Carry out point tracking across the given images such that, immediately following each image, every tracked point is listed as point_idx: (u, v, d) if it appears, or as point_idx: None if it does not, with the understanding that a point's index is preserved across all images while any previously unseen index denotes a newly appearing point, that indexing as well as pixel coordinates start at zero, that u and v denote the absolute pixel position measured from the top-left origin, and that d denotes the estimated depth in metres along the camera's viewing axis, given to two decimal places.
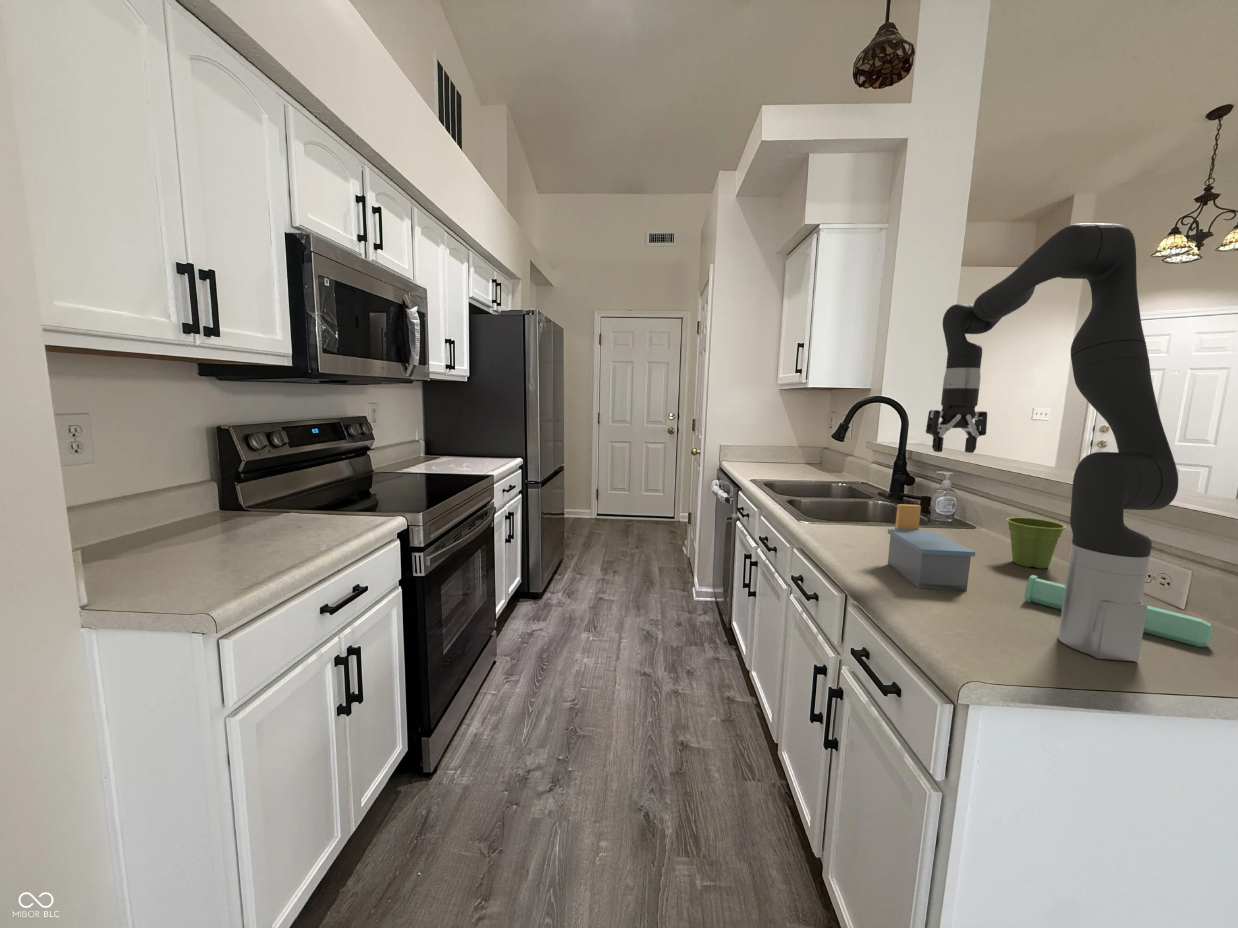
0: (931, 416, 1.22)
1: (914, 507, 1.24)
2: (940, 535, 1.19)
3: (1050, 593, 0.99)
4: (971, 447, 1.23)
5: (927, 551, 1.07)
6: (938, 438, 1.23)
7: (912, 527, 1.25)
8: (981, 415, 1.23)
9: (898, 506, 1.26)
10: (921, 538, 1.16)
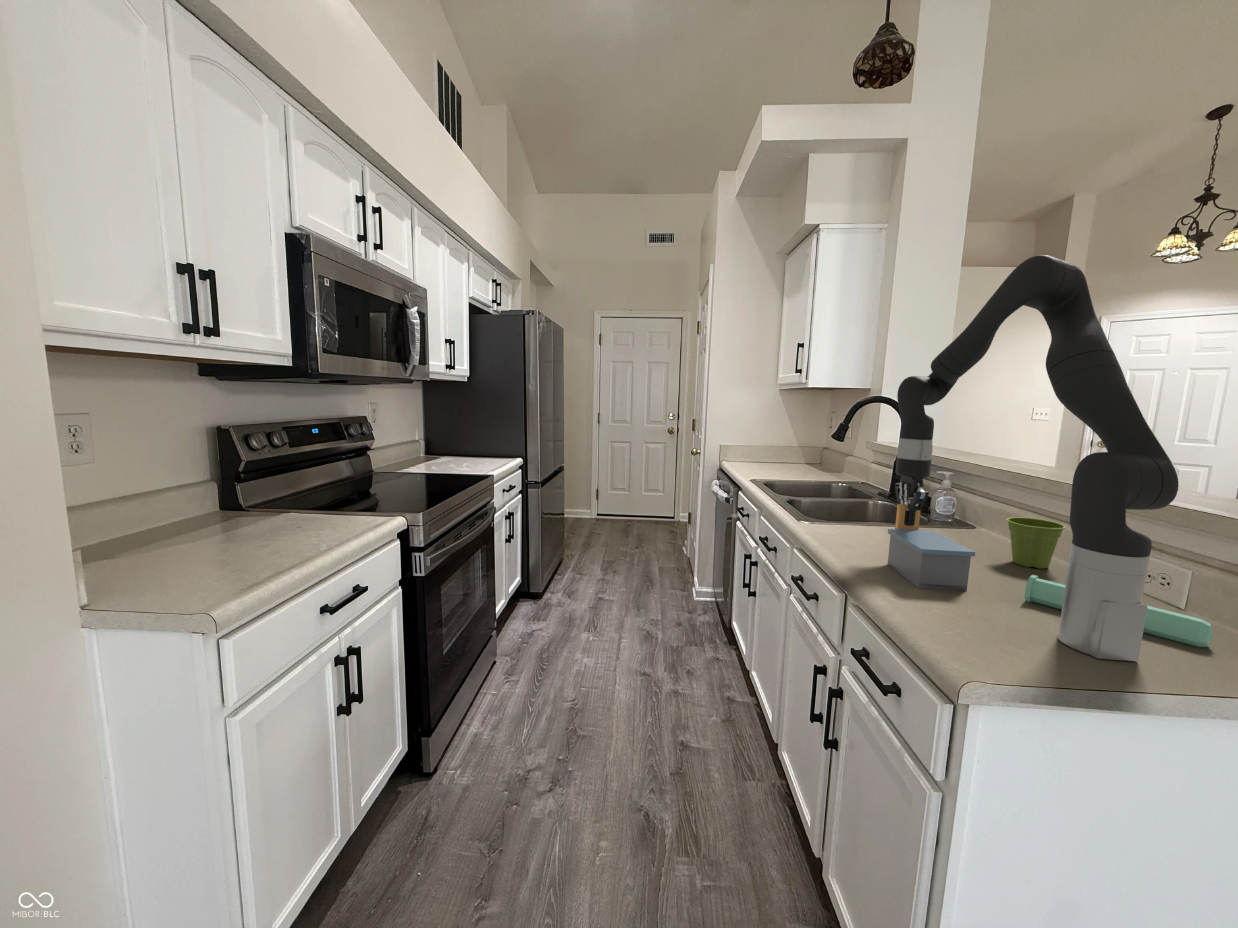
0: (921, 498, 1.19)
1: None
2: (940, 535, 1.19)
3: (1050, 593, 0.99)
4: None
5: (927, 551, 1.07)
6: None
7: (912, 527, 1.25)
8: None
9: (898, 506, 1.26)
10: (921, 538, 1.16)
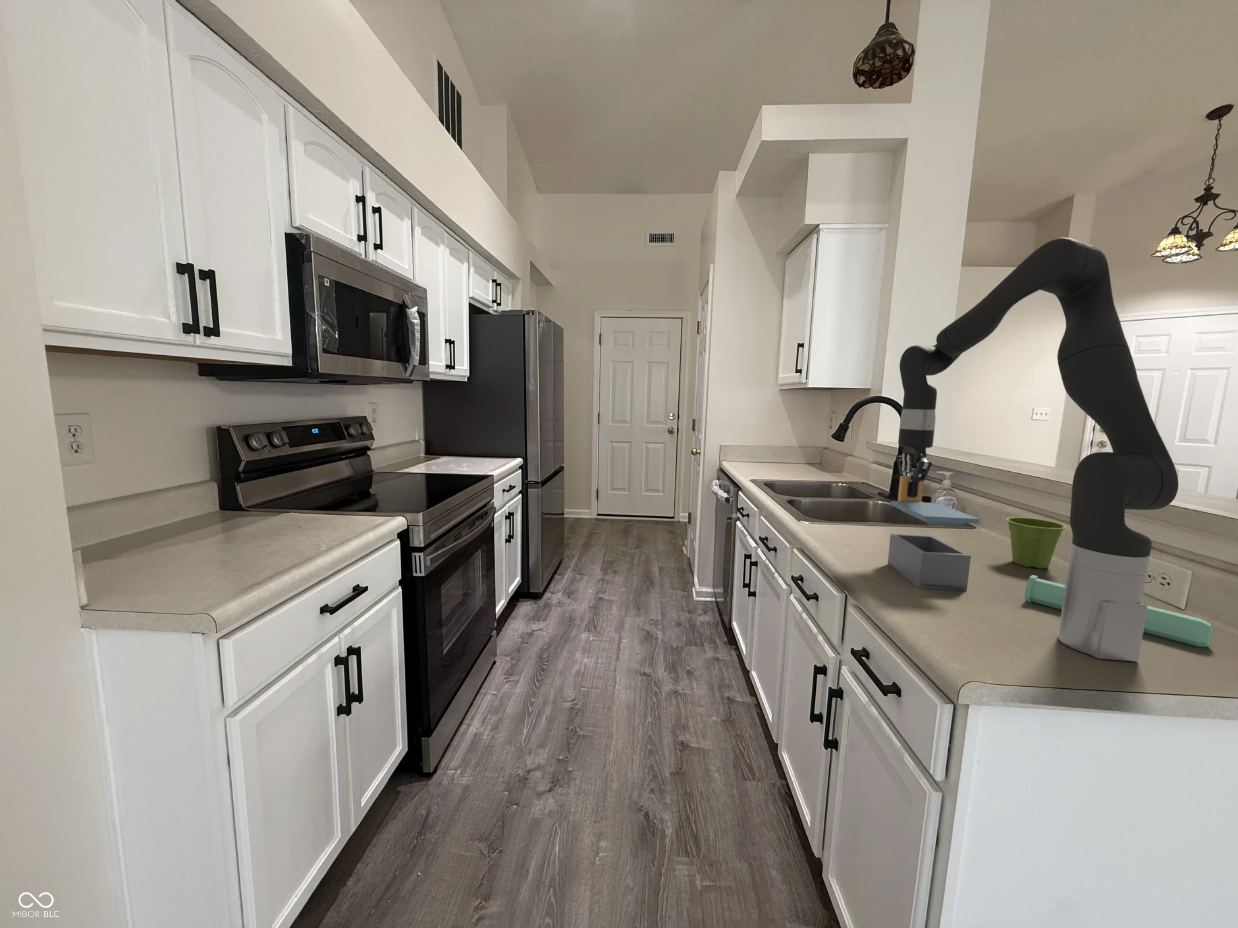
0: (924, 468, 1.18)
1: None
2: (943, 506, 1.18)
3: (1050, 593, 0.99)
4: None
5: (931, 518, 1.06)
6: None
7: (915, 499, 1.24)
8: None
9: (901, 478, 1.25)
10: (924, 508, 1.15)
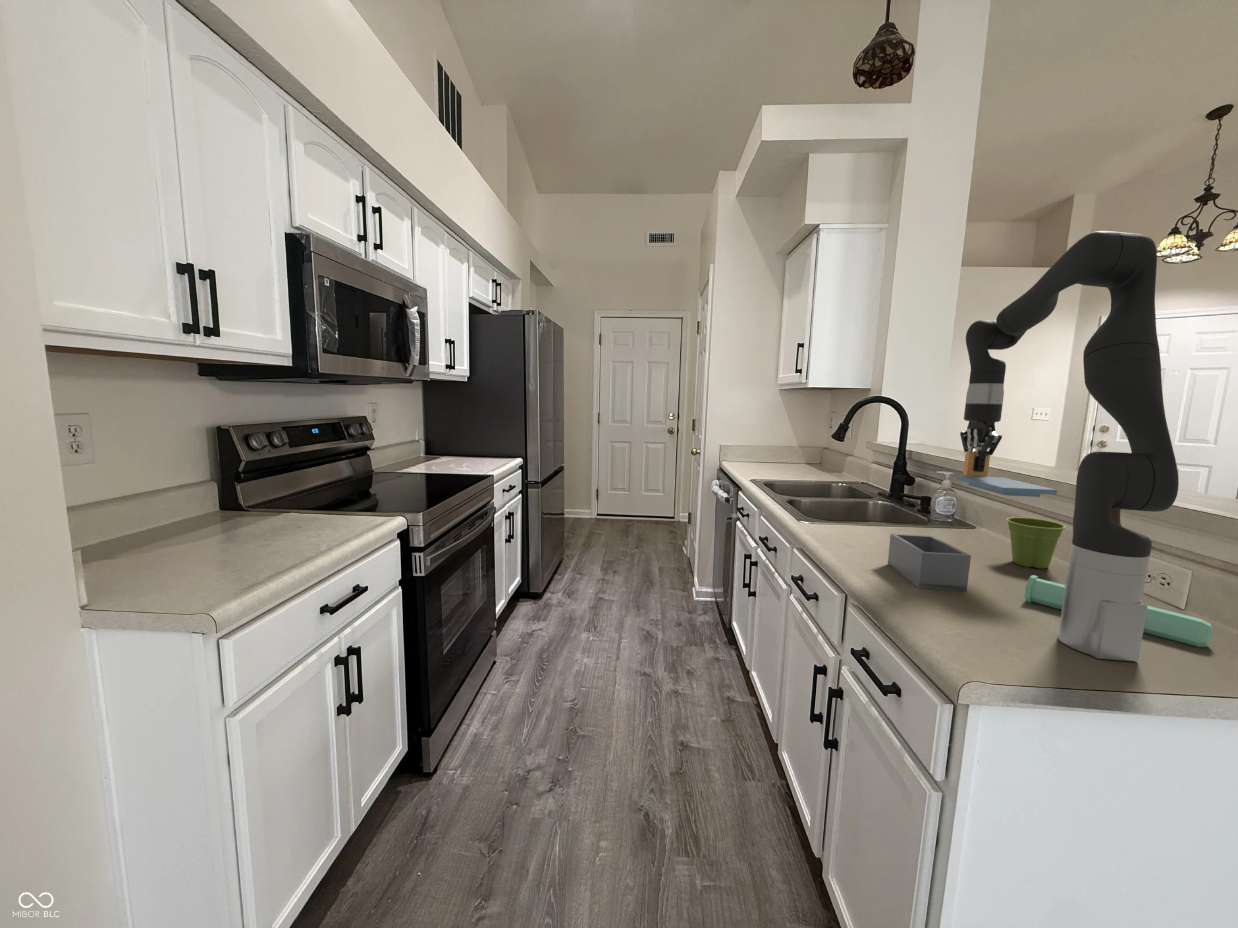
0: (994, 441, 1.19)
1: None
2: (1012, 480, 1.19)
3: (1050, 593, 0.99)
4: None
5: (1008, 489, 1.07)
6: None
7: (981, 474, 1.24)
8: None
9: (967, 453, 1.25)
10: (995, 481, 1.16)
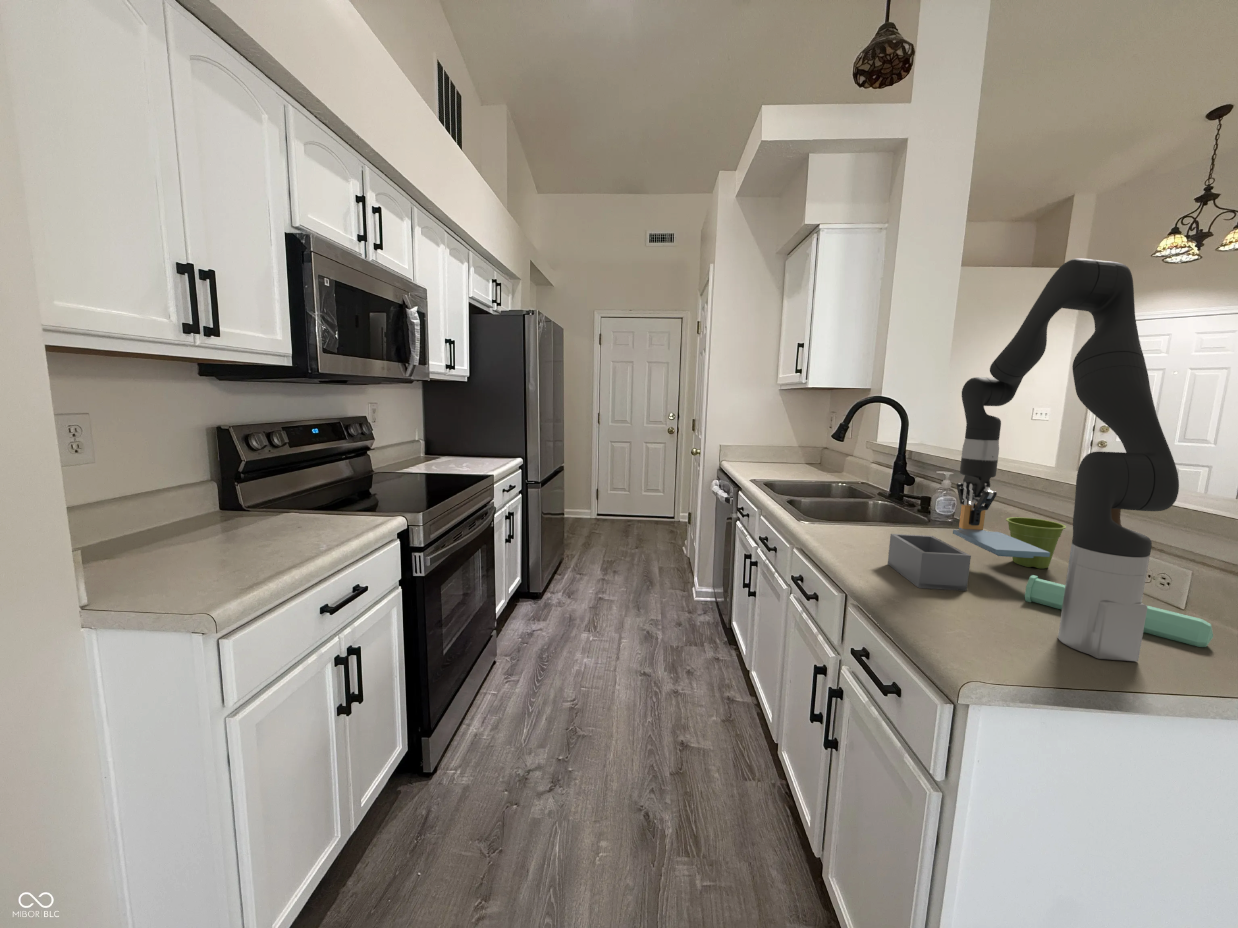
0: (988, 498, 1.20)
1: None
2: (1007, 535, 1.21)
3: (1050, 593, 0.99)
4: None
5: (1002, 551, 1.09)
6: None
7: (976, 527, 1.26)
8: None
9: (962, 507, 1.27)
10: (990, 538, 1.17)
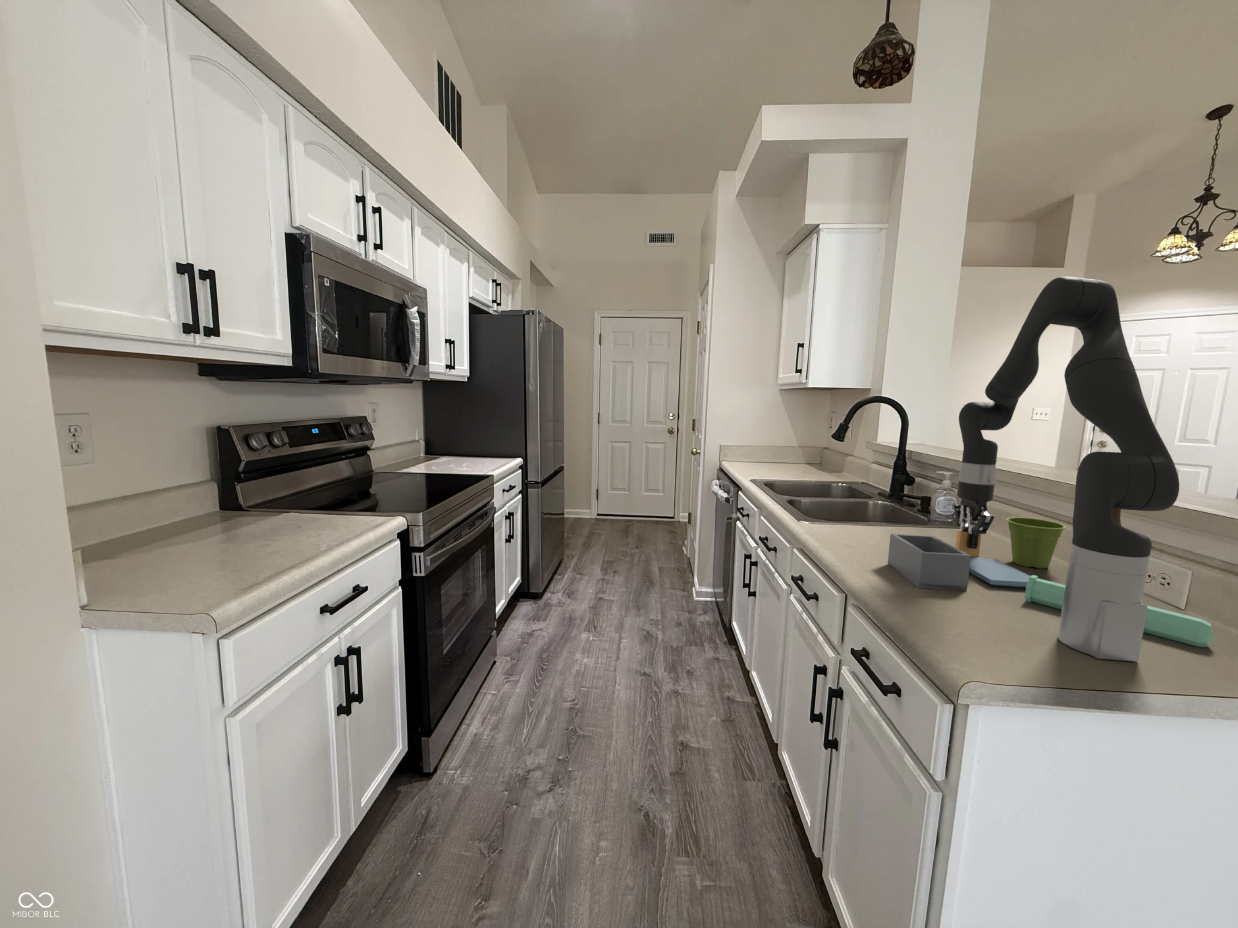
0: (986, 521, 1.21)
1: None
2: (1002, 563, 1.22)
3: (1050, 593, 0.99)
4: None
5: (997, 582, 1.10)
6: None
7: (972, 554, 1.27)
8: None
9: (958, 533, 1.28)
10: (986, 567, 1.19)
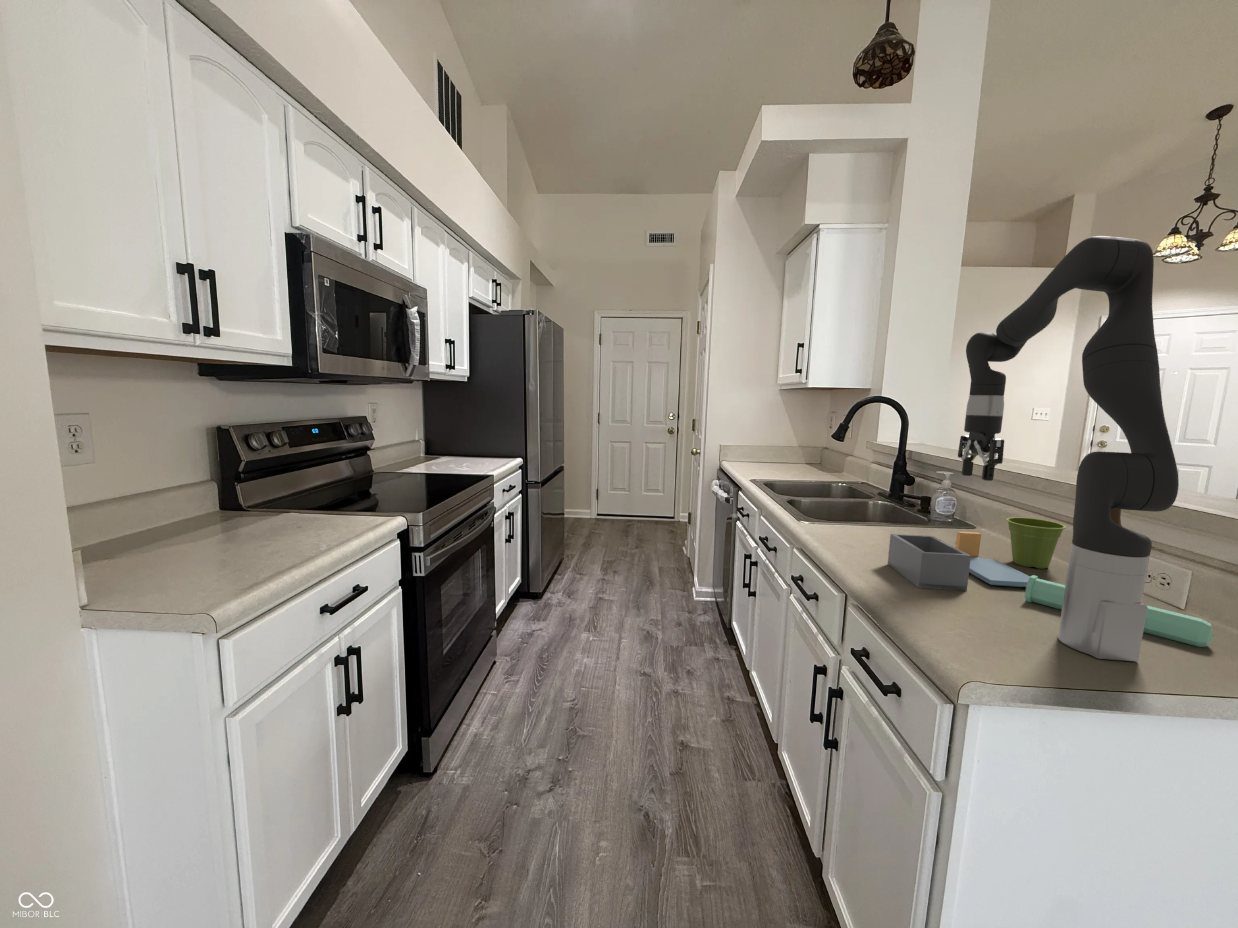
0: (998, 445, 1.18)
1: (974, 535, 1.27)
2: (1002, 563, 1.22)
3: (1050, 593, 0.99)
4: (971, 470, 1.29)
5: (996, 582, 1.10)
6: None
7: (972, 554, 1.28)
8: None
9: (958, 533, 1.28)
10: (985, 567, 1.19)
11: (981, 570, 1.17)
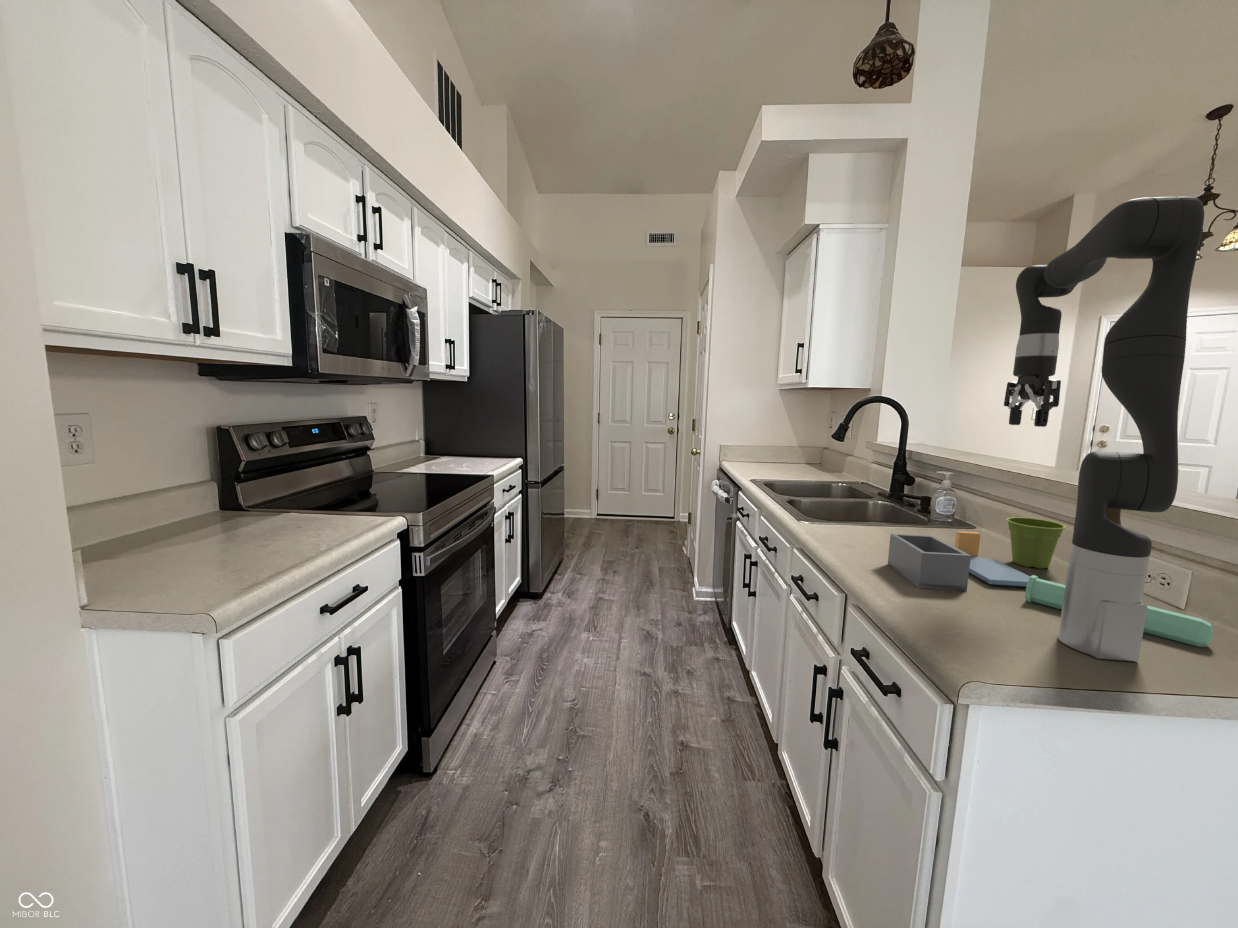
0: (1054, 386, 1.08)
1: (974, 534, 1.27)
2: (1001, 563, 1.22)
3: (1050, 593, 0.99)
4: (1019, 419, 1.19)
5: (995, 581, 1.10)
6: None
7: (971, 554, 1.28)
8: None
9: (957, 533, 1.28)
10: (984, 566, 1.19)
11: (980, 570, 1.17)
